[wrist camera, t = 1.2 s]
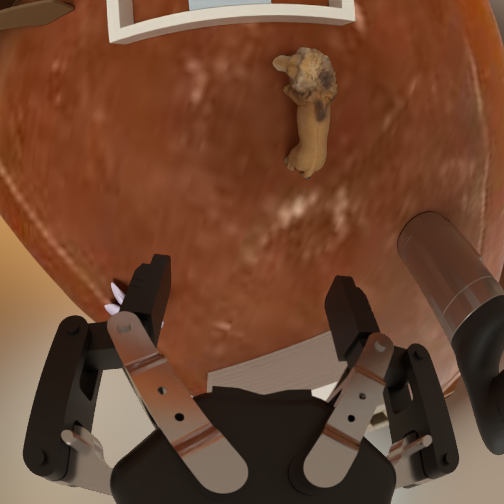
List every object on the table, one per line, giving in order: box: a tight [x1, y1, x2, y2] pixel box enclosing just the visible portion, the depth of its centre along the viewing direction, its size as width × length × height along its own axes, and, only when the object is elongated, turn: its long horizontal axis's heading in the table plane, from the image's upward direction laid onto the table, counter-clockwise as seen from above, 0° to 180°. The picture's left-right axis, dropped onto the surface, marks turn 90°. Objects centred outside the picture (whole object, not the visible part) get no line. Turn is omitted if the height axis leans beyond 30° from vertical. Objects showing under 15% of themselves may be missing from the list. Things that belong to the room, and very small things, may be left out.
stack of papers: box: [207, 330, 347, 401], centre depth 51 cm, size 32×11×11 cm, turn 121°
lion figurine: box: [273, 47, 338, 179], centre depth 24 cm, size 15×5×9 cm, turn 11°
